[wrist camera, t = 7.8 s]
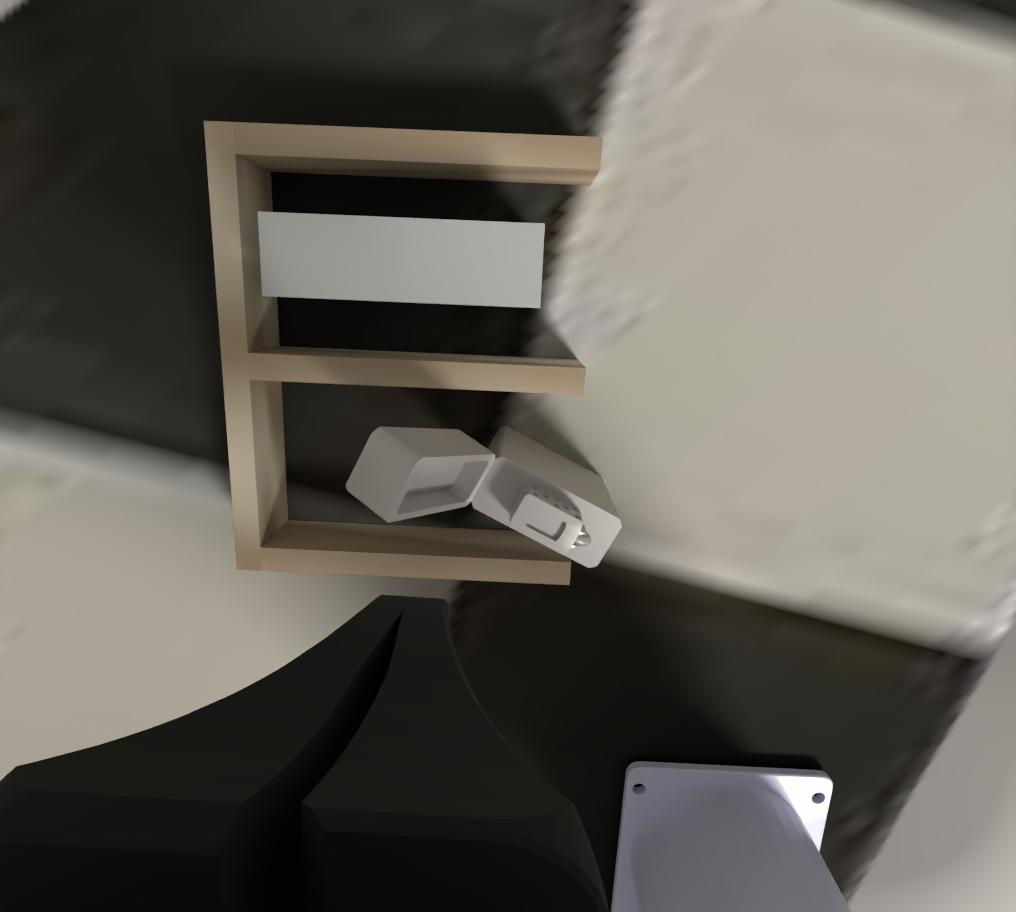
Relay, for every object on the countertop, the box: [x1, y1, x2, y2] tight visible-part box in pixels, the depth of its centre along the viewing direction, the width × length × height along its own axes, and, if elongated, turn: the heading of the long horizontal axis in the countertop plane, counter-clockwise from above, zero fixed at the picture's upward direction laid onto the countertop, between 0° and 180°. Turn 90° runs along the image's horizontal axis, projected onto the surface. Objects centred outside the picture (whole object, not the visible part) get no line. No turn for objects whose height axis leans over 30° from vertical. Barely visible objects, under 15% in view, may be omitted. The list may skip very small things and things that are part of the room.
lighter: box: [346, 425, 622, 568], centre depth 18 cm, size 7×2×8 cm, turn 61°
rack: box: [204, 121, 602, 585], centre depth 20 cm, size 13×11×2 cm
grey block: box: [257, 211, 545, 308], centre depth 18 cm, size 2×7×5 cm, turn 87°
